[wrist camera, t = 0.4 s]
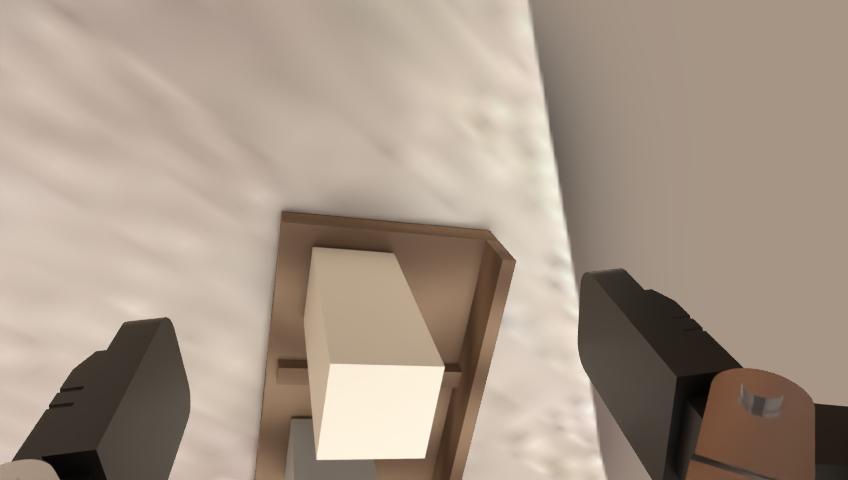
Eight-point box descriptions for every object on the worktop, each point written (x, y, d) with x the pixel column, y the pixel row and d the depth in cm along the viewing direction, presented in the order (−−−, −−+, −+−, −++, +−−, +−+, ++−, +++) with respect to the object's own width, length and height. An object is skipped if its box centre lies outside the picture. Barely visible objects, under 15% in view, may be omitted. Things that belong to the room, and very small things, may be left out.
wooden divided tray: (282, 211, 30) (283, 242, 27) (489, 230, 33) (516, 260, 30) (242, 593, 39) (239, 655, 36) (409, 581, 42) (422, 637, 39)
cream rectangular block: (312, 246, 29) (330, 363, 20) (393, 253, 30) (444, 366, 21) (303, 320, 31) (316, 460, 22) (381, 323, 32) (424, 458, 23)
